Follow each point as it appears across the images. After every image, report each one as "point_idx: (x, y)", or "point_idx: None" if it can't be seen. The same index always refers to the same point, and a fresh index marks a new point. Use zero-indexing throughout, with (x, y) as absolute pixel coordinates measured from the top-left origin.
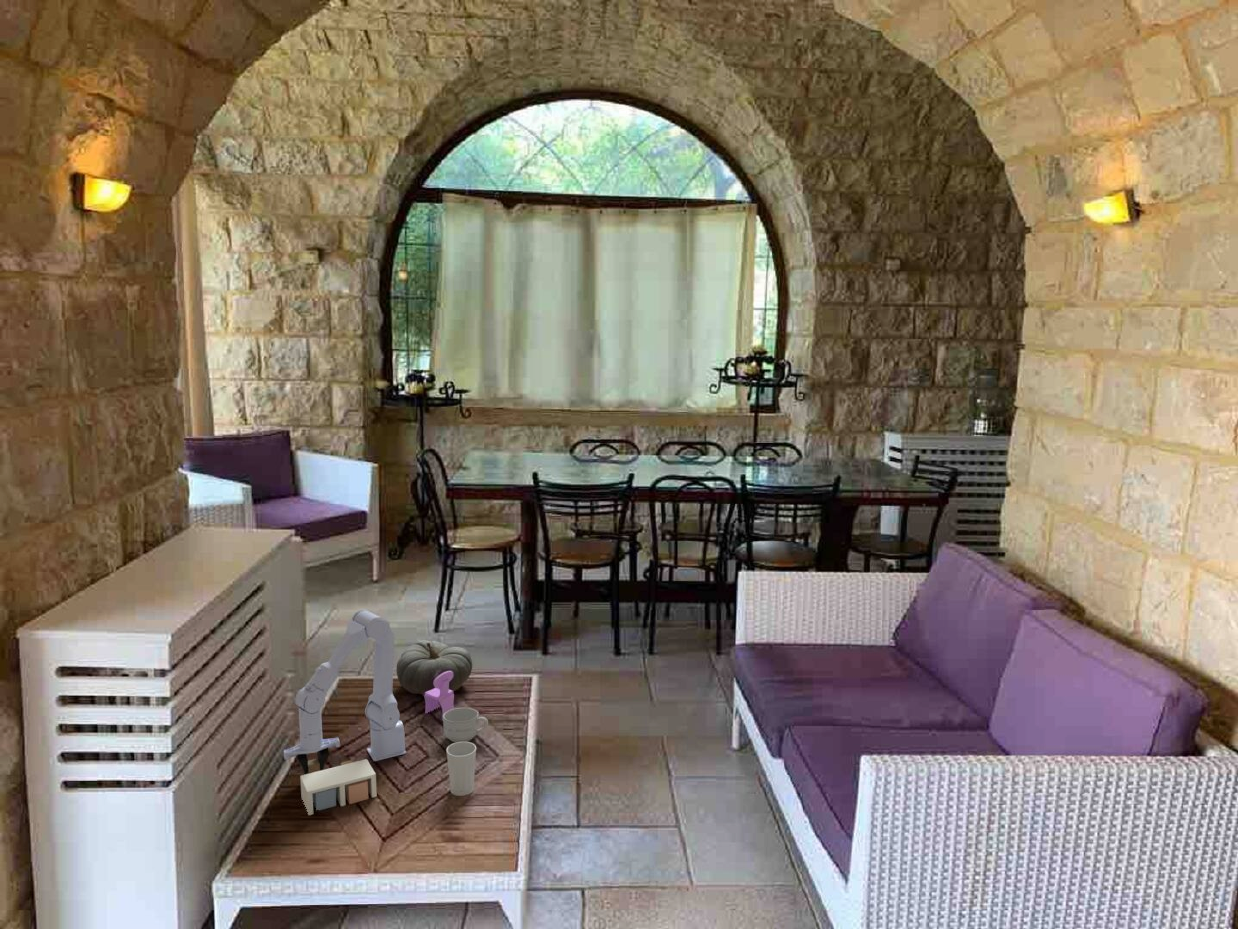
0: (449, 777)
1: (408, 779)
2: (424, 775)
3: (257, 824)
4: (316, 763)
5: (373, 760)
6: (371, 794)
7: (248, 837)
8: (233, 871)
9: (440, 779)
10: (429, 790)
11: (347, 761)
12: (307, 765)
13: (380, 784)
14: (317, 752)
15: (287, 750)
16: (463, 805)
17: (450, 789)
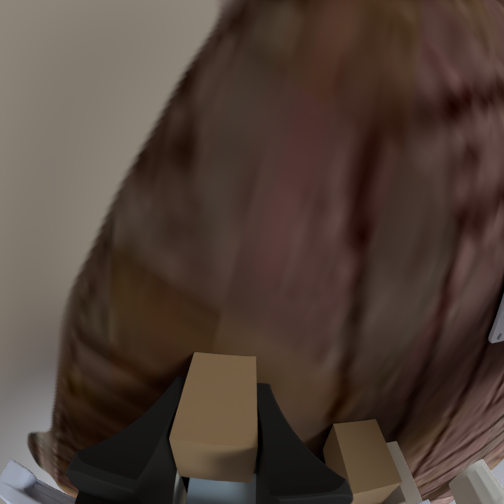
0: (465, 494)
1: (456, 444)
2: (481, 433)
3: (57, 446)
4: (233, 479)
5: (490, 335)
6: None
7: (54, 460)
8: (62, 489)
9: (480, 448)
10: (441, 475)
11: (380, 489)
12: (172, 487)
13: (405, 456)
14: (264, 489)
15: (14, 502)
16: (431, 500)
17: (456, 478)
